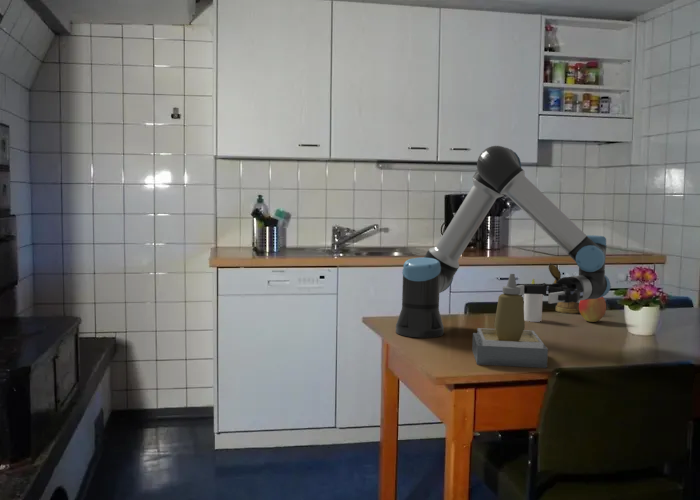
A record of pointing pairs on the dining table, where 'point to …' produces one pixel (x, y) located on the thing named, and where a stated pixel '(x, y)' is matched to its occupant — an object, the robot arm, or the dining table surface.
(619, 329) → the dining table surface
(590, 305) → the apple
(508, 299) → the squeeze bottle
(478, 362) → the square box
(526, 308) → the candle
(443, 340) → the dining table surface
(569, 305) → the wooden mug
